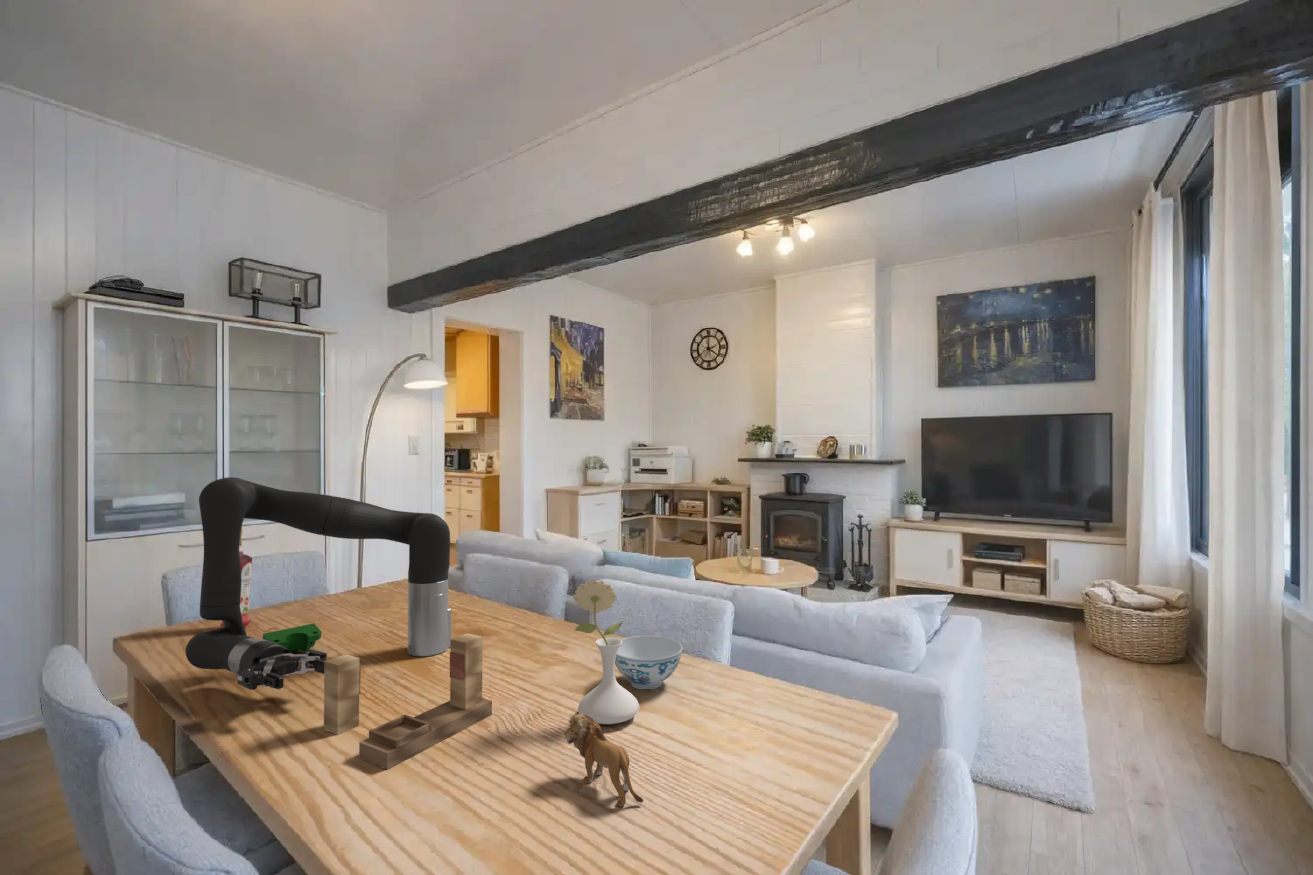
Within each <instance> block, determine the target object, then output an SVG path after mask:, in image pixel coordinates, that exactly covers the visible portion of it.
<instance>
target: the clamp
mask: <svg viewBox="0 0 1313 875" xmlns="http://www.w3.org/2000/svg"><path fill="white" fill-rule="evenodd" d="M262 639H264V640H267V641H270V642H274V643H277V644H280V645H283V646H284V647H286V648H287V650H288V651H289V652H290V653H292V654H293V653H296V652H300V651H301V652H304V653H305V650H308V649H312V648H314V646H315V645H316V643H317V642H316V641H319V640H321V639H322V630H321V629H320V628H319V627H318V626H317V625H316V624H315V623H308V624H305V625H299V626H294V627H290V628H285V629H279V630H275V631H270V632H265V633H263V634H262ZM311 647H312V648H311ZM299 650H300V651H299Z"/></svg>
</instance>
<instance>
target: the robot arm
mask: <svg viewBox="0 0 1313 875" xmlns="http://www.w3.org/2000/svg"><path fill="white" fill-rule="evenodd" d="M198 503H199V511H200V517H201V527H202V537H203V562H202V563H203V564H202V574H201V575H202V576H201V585H200V599H199V600H200V603H199V616H200V618H201V619H204V620H206V621H221V622H222V621H223V623H224V628H222V627H220V628H218V629H211V630H207V631H203V632H200V633H197V634H195V635H194V636H193V637H191V638H190V639H189V640H188V642H187V644H186V646H185V651H184V652H185V656H186V660H187V661H188V662H189V664H190V665H192V666H194V667H195V668H198V669H202V670H203V669H204V670H226V671H229V672H231V673H234V674H236V676H237V677H236V678H237V680H236V681H237V682H236V683H237V684H238V685H239V686H241V687H243V688H246V689H247V690H256V689H257V688H258V687H259V686H261V687H262V688H266V687H270V688H272V689H277V690H281V689H283V688H284V676H286V677H287V676H290V675H299V674H300V675H303V674H305V673H306V672H312V671H313V672H317V673H320V674H323V675H324V661H326V660H328V658H327V657H328V653H327V652H324V651H319V650H315V649H312V648H310V649H308V650H305V652H304V653H300V654H293V652H292V653H290V652H289V651H288V650H287V648H286V647H284V646H283V645H280V644H277V643H274V642H270V641H267V640H264V639H263V638H255V637H251V636H248V635H247V631H246V627H245V628H244V624H243V620H242V616H241V610H240V598H241V565H240V554H239V542H240V533H241V528H242V529H243V527H242V526H243V523H244V519H248V520H257V521H258V520H259V521H260V520H261V521H269V522H274V523H279V524H282V525H284V526H288V527H290V528H293V529H297V530H299V531H302V532H306V533H310V534H314V535H317V536H318V535H319V536H325V537H328V538H329V537H330V538H338V539H347V540H349V539H350V540H387V541H391V542H395V543H401V544H404V545H408V547H409V549H408V552H409V553H408V570H407V571H408V572H407V583H408V584H407V593H408V594H407V654H408V655H409V656H413V657H429V656H435V655H438V654H439V655H440V654H441V653H444V652H446V651H447V650H448V649H450V639H452V609H451V607H449V570H450V565H451V564H450V556H451V553H450V552H451V532H450V528H449V527H450V526H449V524H448V523H447V522H446V521H445V520H444V519H443V518H442V517H441V516H439V515H437V514H435V513H431V512H430V513H429V512H411V511H402V510H401V511H400V510H394V509H388V508H385V507H381V506H378V505H375V504H371V503H368V502H363V501H360V500H355V499H351V498H346V497H341V496H335V495H329V494H328V495H327V494H321V493H314V492H306V491H303V492H302V491H294V490H293V491H292V490H284V489H279V488H275V487H270V486H267V485H264V484H259V483H257V482H256V483H255V482H253V481H249V480H247V479H243V478H239V477H234V476H233V477H232V476H231V477H230V476H229V477H227V476H226V477H222V478H219V479H218V478H217V479H215V480H213V481H211V482H209V483H207V484H206V485H205V486H204V487H203V488H202V490H201V492H200V493H199V497H198ZM300 664H301V666H300ZM310 665H311V666H310ZM299 666H300V668H299Z"/></svg>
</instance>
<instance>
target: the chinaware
mask: <svg viewBox="0 0 1313 875" xmlns="http://www.w3.org/2000/svg"><path fill="white" fill-rule="evenodd" d="M620 640H622V644H621V645H620V647H619V648H618V651H617V654H616V659H615V668H617V670H618V671H619V673H620V674H621V675H622V676H623V677H624V678H625V679H626V680H628V681H629V682H630V684H631V687H633V688H635V689H638V690H642V689H651V690H656V689H658V687H659V688H661V687H662V686H663V684H664V683H663V682H664V681H666V679H668V678H670V676H671V675H673V673H674V672H675V671H676V670H677V668H678V665H679V663H680V660H681V658H682V652H683V645H682V644H681V642H679V641H677V640H675V639H674V638H673V639H672V638H669V637H667V636H666V637H664V636H658V635H637V636H636V635H635V636H629V637H625V638H622V639H620ZM661 685H662V686H661Z"/></svg>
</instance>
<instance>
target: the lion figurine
mask: <svg viewBox="0 0 1313 875" xmlns="http://www.w3.org/2000/svg"><path fill="white" fill-rule="evenodd" d="M563 736H564V738H565V739H566V744H568V745H571V744H573V746H574V748H576V749H577V750H578V751H579V755H580V756H581V757H583V758H584V765H585V770H586V775H587V776H584V777H583V780H582V781H583V783H584V784H589V783H592V782H593V780H594V775H596V776H602V774H603V772H604V771H603V770H604V769H608V774H609V776H610V781H611V784H612V785H613V786H614V788H615V791H616V792H617V794H618V796H619V798H618V799H617V801H616V806H617V807H620V808H621V807H623V806H625V805H626V803H627V800H626V794H625V792H627V791H629V792H630V794H631V796H632V797H633V799H634V800H635V801H636V803H640V804H641V803H644V798H642V797H641V796H639V794H637V793H636V792H635V791H634V789H633V786H632V783H631V777H630V773H629V768H630V757H629V755H628V754H629V753H628V752H627V751H626V749H625V748H624V747H623V746H622V745H618V744H616V743H614V742H612V741H610V740H609V739H608V738H606V736H605V734H604V731H603V729H602V726H600V724H598V723H596V721H595V720H593V719H592V718H591V717H589V716H588V715H585V714H582V713H581V714H579V713H577V714H574V715H572V721H571V723H570V725H569V728H568V729H567V730H566V731H564V733H563ZM595 763H596V768H595V769H594V771H593V765H594V764H595ZM620 773H621V774H622V777H623V783H622V784H621V778H620Z"/></svg>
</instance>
